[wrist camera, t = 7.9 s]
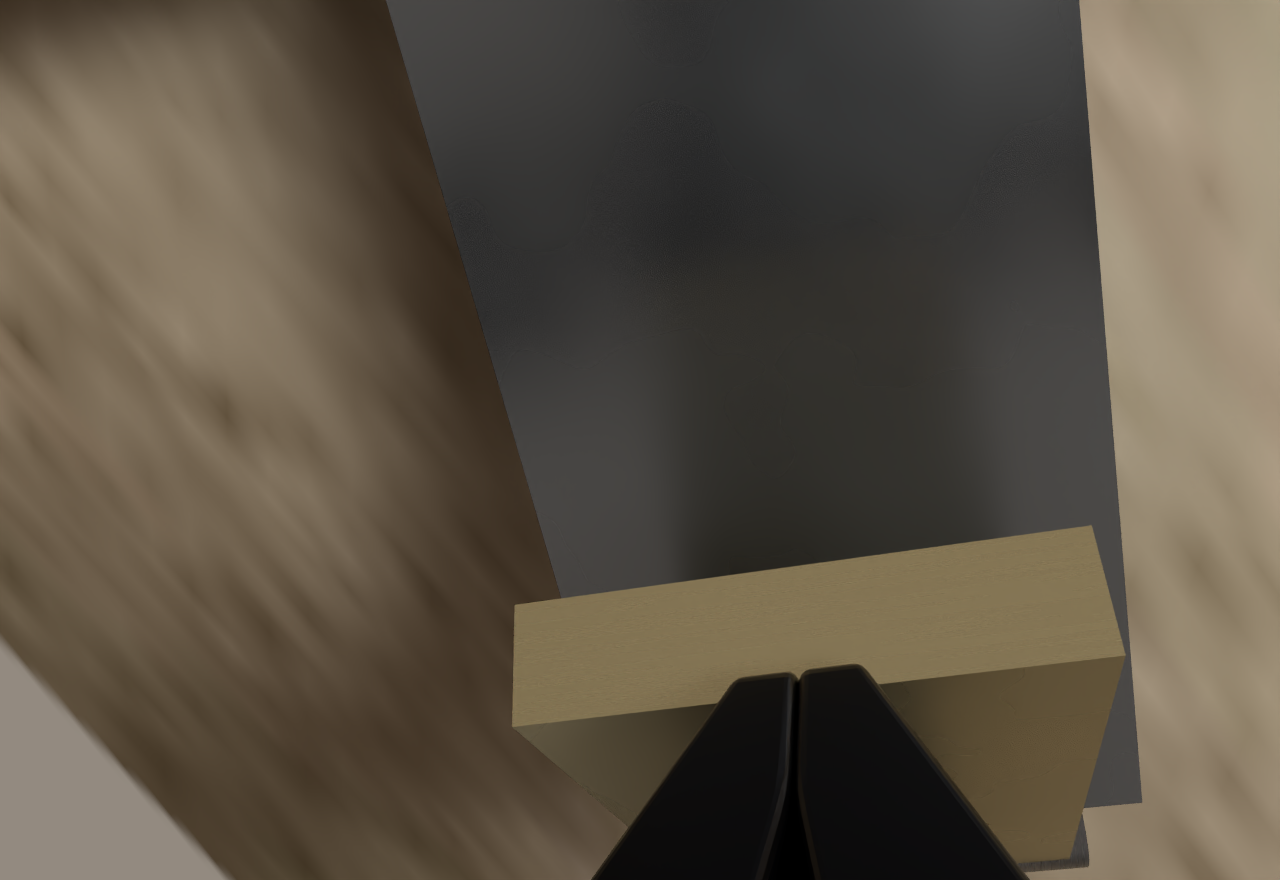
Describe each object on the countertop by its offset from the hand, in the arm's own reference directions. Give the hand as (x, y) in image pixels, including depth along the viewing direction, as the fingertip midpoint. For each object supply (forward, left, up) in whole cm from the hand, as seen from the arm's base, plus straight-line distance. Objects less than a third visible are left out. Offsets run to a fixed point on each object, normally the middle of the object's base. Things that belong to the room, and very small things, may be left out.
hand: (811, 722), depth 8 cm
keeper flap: (-2, 0, -3) cm, 3 cm away
